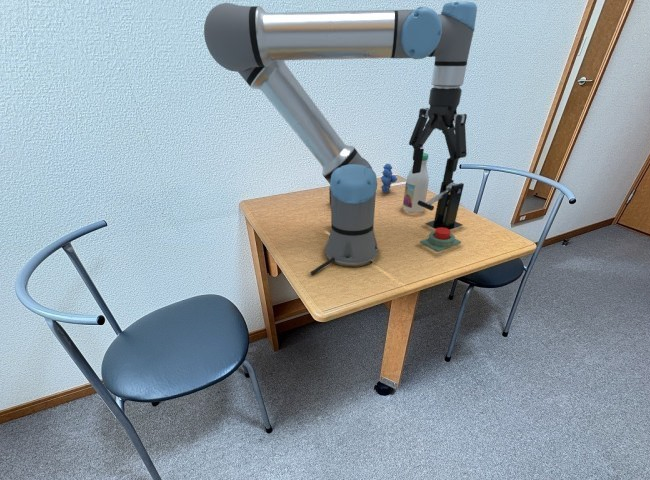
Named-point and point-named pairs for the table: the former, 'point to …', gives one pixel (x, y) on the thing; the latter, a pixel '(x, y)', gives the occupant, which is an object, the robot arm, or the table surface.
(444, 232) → the button
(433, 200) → the lever
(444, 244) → the button box
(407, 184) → the milk bottle
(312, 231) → the table surface
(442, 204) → the bracket
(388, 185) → the grapes
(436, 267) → the table surface
